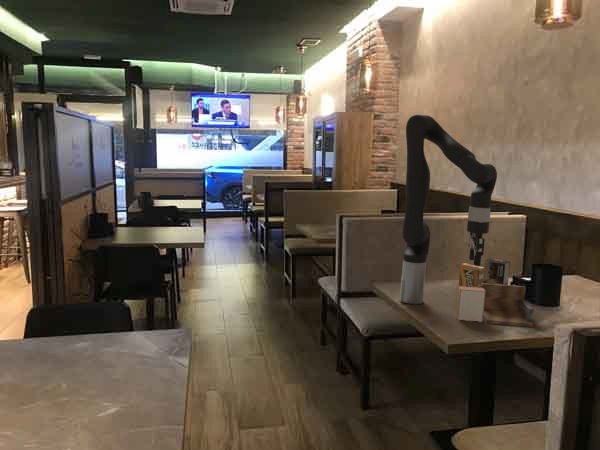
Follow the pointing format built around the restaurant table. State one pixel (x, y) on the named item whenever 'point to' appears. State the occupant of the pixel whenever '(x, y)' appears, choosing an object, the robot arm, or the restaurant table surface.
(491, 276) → the coffee box
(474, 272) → the candy box
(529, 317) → the bookend
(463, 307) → the boxed book
